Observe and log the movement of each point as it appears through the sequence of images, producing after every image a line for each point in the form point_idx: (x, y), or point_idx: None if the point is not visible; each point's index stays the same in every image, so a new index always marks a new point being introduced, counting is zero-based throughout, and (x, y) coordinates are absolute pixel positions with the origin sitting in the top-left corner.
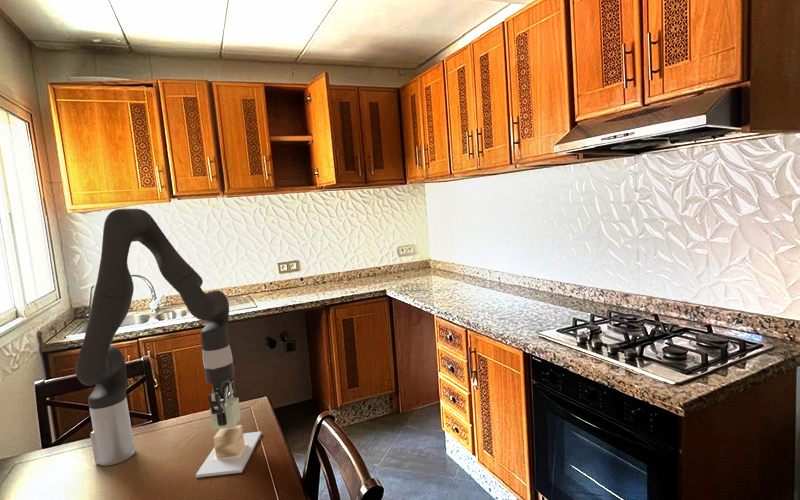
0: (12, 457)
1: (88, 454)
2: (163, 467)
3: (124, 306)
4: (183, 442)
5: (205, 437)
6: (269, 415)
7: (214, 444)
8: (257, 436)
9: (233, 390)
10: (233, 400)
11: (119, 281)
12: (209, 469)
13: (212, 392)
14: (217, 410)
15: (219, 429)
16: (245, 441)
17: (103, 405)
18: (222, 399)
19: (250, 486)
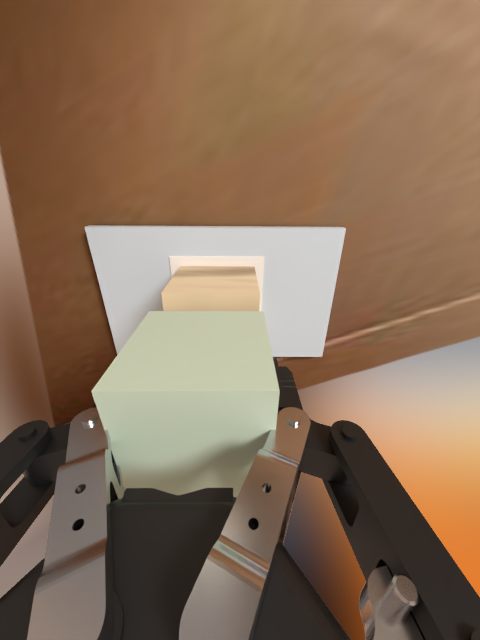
0: None
1: None
2: (165, 9)
3: None
4: (390, 9)
5: (389, 135)
6: (445, 345)
7: (168, 282)
8: (292, 353)
9: (337, 510)
10: (224, 487)
11: None
12: (116, 265)
13: (37, 594)
14: (23, 473)
15: (237, 293)
16: (271, 327)
17: None
18: (269, 424)
19: (70, 381)
